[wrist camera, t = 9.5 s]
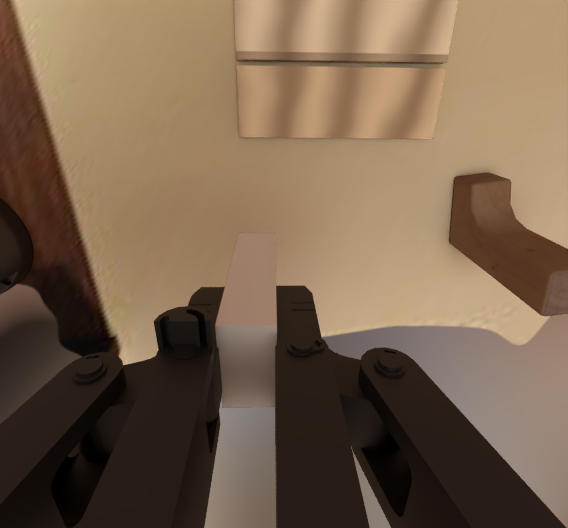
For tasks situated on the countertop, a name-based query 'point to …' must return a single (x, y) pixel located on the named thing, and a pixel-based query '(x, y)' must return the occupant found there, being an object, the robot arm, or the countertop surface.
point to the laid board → (344, 30)
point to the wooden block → (508, 244)
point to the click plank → (338, 101)
